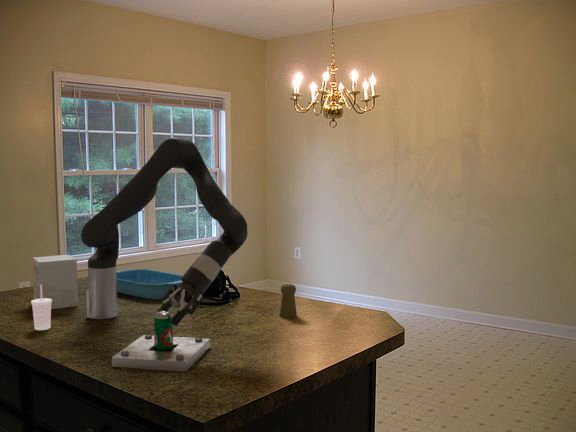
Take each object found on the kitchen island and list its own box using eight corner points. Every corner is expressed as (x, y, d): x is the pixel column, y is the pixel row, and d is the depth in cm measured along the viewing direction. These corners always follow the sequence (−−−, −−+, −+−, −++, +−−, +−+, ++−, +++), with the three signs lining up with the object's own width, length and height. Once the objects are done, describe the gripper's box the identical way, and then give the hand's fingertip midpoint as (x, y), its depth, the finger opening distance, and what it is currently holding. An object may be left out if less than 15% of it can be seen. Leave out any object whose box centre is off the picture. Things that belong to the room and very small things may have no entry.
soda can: (155, 353, 163) (155, 310, 162) (174, 353, 164) (173, 310, 163) (153, 359, 158) (152, 315, 157) (172, 359, 159) (171, 315, 158)
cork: (299, 314, 205) (299, 283, 204) (293, 319, 200) (293, 286, 199) (282, 313, 207) (282, 282, 206) (276, 317, 202) (276, 285, 201)
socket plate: (112, 366, 153) (111, 354, 152) (143, 343, 172) (143, 332, 172) (186, 371, 149) (185, 359, 149) (210, 347, 169) (209, 336, 169)
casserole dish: (200, 293, 239) (200, 276, 238) (159, 304, 221) (158, 285, 220) (138, 282, 260) (138, 266, 259) (96, 291, 242) (95, 274, 241)
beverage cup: (48, 324, 192) (46, 281, 191) (56, 328, 188) (54, 284, 186) (29, 328, 188) (27, 284, 187) (36, 332, 183) (35, 287, 182)
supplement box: (70, 299, 228) (69, 254, 226) (78, 306, 216) (77, 258, 215) (33, 303, 220) (31, 257, 219) (40, 311, 209) (38, 262, 208)
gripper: (180, 262, 170) (144, 307, 164) (206, 269, 159) (169, 318, 153) (196, 278, 174) (161, 323, 168) (223, 286, 163) (187, 334, 157)
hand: (165, 320), depth 160 cm, fingers open, 8 cm apart
